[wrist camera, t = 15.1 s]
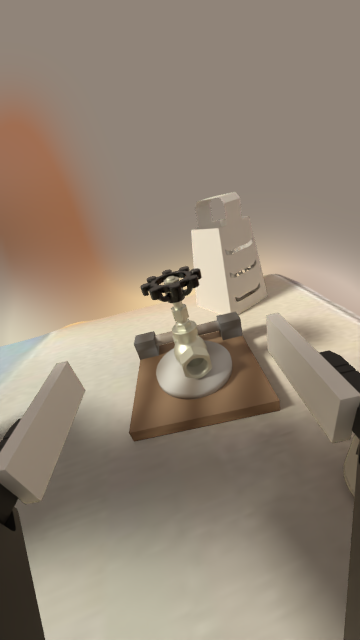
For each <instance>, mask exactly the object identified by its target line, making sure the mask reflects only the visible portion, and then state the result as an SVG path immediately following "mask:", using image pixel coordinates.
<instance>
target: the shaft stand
mask: <svg viewBox="0 0 360 640" xmlns="http://www.w3.org/2000/svg"><path fill="white" fill-rule="evenodd" d="M196 326H197V330H198V336H199V335H201V336H199V337H201V338H202V339H203V340H204V342H205V344H206V346H207V352H208V354H209V356H210V360H211V364H212V369H211V370H210V371H209V372H208V373H207V374H206V375H204V376H203V377H202V378H188V377H185V374H184V371H183V368H182V365H181V364H180V363H179V362H178V361H177V360H176V358H175V354H174V347H175V343H174V340H173V337H172V336H173V332H172V331H171V332H167V333H163V334H159V335H155V333H154V331H153V332H149V333H145V334H141V335H137V336H136V337H135V342H134V346H135V348H136V351H137V353H138V355H139V358H140V366H139V373H138V379H137V385H136V392H135V398H134V405H133V411H132V418H131V424H130V431H129V434H130V435H131V437H132V439H133V441H138V440H143V439H147V438H152V437H157V436H161V435H166V434H171V433H175V432H180V431H185V430H190V429H194V428H199V427H204V426H208V425H213V424H218V423H222V422H227V421H232V420H236V419H241V418H246V417H251V416H255V415H260V414H265V413H269V412H274V411H279V410H280V401H279V399H278V397H277V395H276V394H275V392H274V390H273V388H272V387H271V385H270V383H269V381H268V380H267V378H266V376H265V374H264V373H263V371H262V369H261V367H260V365H259V364H258V362H257V360H256V358H255V357H254V355H253V353H252V351H251V350H250V348H249V346H248V344H247V343H246V341H245V339H244V337H243V336H242V328H241V320H240V317H239V316H238V314H237V313H236V311H235V312H231V313H227V314H223V315H219V316H217V321H213V322H208V323H204V324H200V325H196ZM216 331H217V332H216ZM212 332H213V333H212ZM208 333H209V334H208ZM204 334H205V335H204ZM170 342H172V343H170ZM166 343H167V344H166ZM162 344H163V345H162Z"/></svg>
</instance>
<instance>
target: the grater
mask: <svg viewBox="0 0 360 640" xmlns="http://www.w3.org/2000/svg"><path fill="white" fill-rule="evenodd" d="M216 197H219V198H220V199H221V200H222V202H223V203H224V208H225V216H226V219H219V220H217V221H214V222H213V219H212V214H211V207H210V202H211V199H212V198H216ZM216 197H211V198H208V199H204V200H202V201H198V202H197V204H196V207H195V211H196V216H197V221H198V226H199V227H198V228H195V229H192V230H191V235H192V248H193V262H194V269H195V268H199V269H200V271H201V276H202V278H201V279H199V286H198V287H196V288H195V289H196V303H197V306H198V307H201V308H203V309H206V310H209V311H211V312H214V313H217V314H219V315H223V314H227V313H231V312H235V311H236V313H237V314H238V315H239V314H240V313H242V312H243V311H245V310H247V309H248V308H250V307H251V306H253V305H254V304H256V303H258V302H259V301H261V300H262V299H264V298H265V297H267V296H268V295H267V290H266V286H265V282H264V278H263V273H262V269H261V265H260V261H259V256H258V252H257V247H256V243H255V239H254V235H253V230H252V226H251V222H250V217H249V216H247V217H242V214H241V204H240V198H239V196H238V195H237V194H236V192H232V193H228V194H224V195H219V196H216ZM246 243H247V244H246ZM244 244H246V245H244ZM238 247H240V248H241V250H240V251H238ZM243 247H245V248H244V249H242V248H243ZM235 248H237V250H236V251H234V249H235ZM231 250H232V251H231ZM233 252H234V254H232V253H233ZM249 266H251V268H248V267H249ZM243 269H244V270H245V273H243V272H242V270H243ZM247 270H249V271H247ZM239 271H241V272H239ZM246 271H247V272H246ZM237 273H238V274H239V276H238V277H237ZM248 292H252V293H253V294H251V295H250V296H248V297H246V298H245V299H243V300H241V301H238V302H236V299H235V297H238V298H240V297H242V296H243V295H245V294H247V293H248Z"/></svg>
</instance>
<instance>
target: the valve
mask: <svg viewBox="0 0 360 640" xmlns="http://www.w3.org/2000/svg"><path fill="white" fill-rule="evenodd" d="M162 274H163V275H162V276H159V277H155V276H152V277H149V278H147V282H148V283H146V284H143V285H141V290H142V293H143V295H144V296H146V295H149V294H148V291H149V292H150V295H151V298H152V300H157V299H158V300H160V301H163V302H167V301H168V302H169V303H173V307H172V308H171V310H172V313H173V316H174V319H175V321H177V322H176V325H174V326H173V328H172V332H173V336H172V337H173V340H174V343H175V347H174V354H175V358H176V360H177V361H178V362H179V363H180V364H181V365H182V368H183V371H184V374H185V377H188V378H202V377H203V376H204V375H206V374H207V373H208V372H209V371H210V370H211V369H212V364H211V360H210V356H209V354H208V352H207V346H206V344H205V342H204V340H203V339H202V338H201V337H199V336H198V330H197V326H196V323H195V322H194V321H190V320H189V319H187V318H188V317H189V315H188V311H187V307H186V305H185V304H182V302H181V301H182V300H183V299H184V298H185V296H186V295H188V294H190V293H191V291H192V289H193V288H196V287H198V286H199V279H201V278H202V276H201V271H200V269H199V268H195V269H192V270H191V271H189V267H187V266H186V267H182V268H180V269H179V271H175V272H172V271H171V270H165V271H163V272H162ZM178 278H183V279H182V280H180V281H179V279H178ZM162 282H164V285H159V284H161V283H162ZM185 286H187V289H186V290H183V287H185ZM162 293H165V294H166V296H164V297H163V295H162Z"/></svg>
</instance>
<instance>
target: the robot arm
mask: <svg viewBox="0 0 360 640" xmlns="http://www.w3.org/2000/svg"><path fill="white" fill-rule="evenodd" d="M266 321H267V347H268V351H269V353H270V354H271V355H272V357H273V358H274V360H275V361H276V363H277V364H278V366H279V367H280V369H281V370H282V371H283V373H284V374H285V376H286V377H287V379H288V380H289V382H290V383H291V384H292V386H293V387H294V389H295V390H296V392H297V393H298V395H299V396H300V398H301V399H302V400H303V402H304V403H305V405H306V406H307V408H308V409H309V411H310V412H311V413H312V415H313V416H314V418H315V419H316V421H317V422H318V424H319V425H320V427H321V428H322V429H323V431H324V432H325V434H326V435H327V437H328V438H329V440H330V441H331V443H336V442H341V441H346V440H350V439H351V435H352V431H353V432H354V434H355V435H356V436H357V437H358V439H359V440H360V373H359V372H358V371H356V369H355V368H353V367H352V366H351V365H349V363H348V362H347V361H346V360H345V359H343V358H342V357H341V356H340V355H338V354H336V353H333V352H331V351H324V352H320V353H319V352H317V351H316V350H315V349H314V348H313V347H312V346H311V345H310V344H309V343H308V342H307V341H306V340H305V339H304V338H303V337H302V336H301V335H300V334H299V333H298V332H297V331H296V330H295V329H294V328H293V327H292V326H291V325H290V324H289V323H288V322H287V321H286V320H285V319H284V318H283V317H282V316H281V315H280V314H279V313H275V314H270V315H266ZM84 393H85V389H84V387H83V385H82V384H81V382H80V381H79V379H78V377H77V376H76V374H75V373H74V371H73V369H72V368H71V366H70V364H69V363H68V361H66V362H61V363H57V364H56V365H55V367H54V368H53V370H52V371H51V373H50V375H49V376H48V378H47V379H46V381H45V382H44V384H43V386H42V387H41V389H40V390H39V392H38V393H37V395H36V397H35V398H34V400H33V401H32V403H31V404H30V406H29V408H28V409H27V411H26V412H25V414H24V415H23V417H22V418H21V419H18V420H17V421H16V422H15V423H14V424H13V425H12V426H11V428H10V429H9V430H8V432H7V433H6V435H5V436H4V438H3V440H2V441H1V442H0V640H45V637H44V632H43V627H42V623H41V618H40V613H39V608H38V604H37V599H36V594H35V589H34V585H33V580H32V575H31V571H30V566H29V561H28V556H27V552H26V547H25V542H24V538H23V533H22V528H21V523H20V519H19V514H18V511H17V509H16V508H15V507H14V506H15V504H16V502H17V499H19V500H21V501H22V502H23V503H24V504H30V503H35V502H40V501H42V498H43V496H44V493H45V491H46V488H47V486H48V483H49V481H50V478H51V476H52V473H53V471H54V468H55V466H56V463H57V461H58V458H59V456H60V453H61V451H62V448H63V446H64V443H65V441H66V438H67V436H68V433H69V430H70V428H71V425H72V423H73V420H74V418H75V415H76V413H77V410H78V408H79V405H80V403H81V400H82V398H83V395H84ZM356 455H358V458H357V471H356V484H355V498H354V511H353V524H352V537H351V551H350V564H349V577H348V590H347V603H346V617H345V630H344V640H360V441H359V444H358V447H357V451H356Z"/></svg>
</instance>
